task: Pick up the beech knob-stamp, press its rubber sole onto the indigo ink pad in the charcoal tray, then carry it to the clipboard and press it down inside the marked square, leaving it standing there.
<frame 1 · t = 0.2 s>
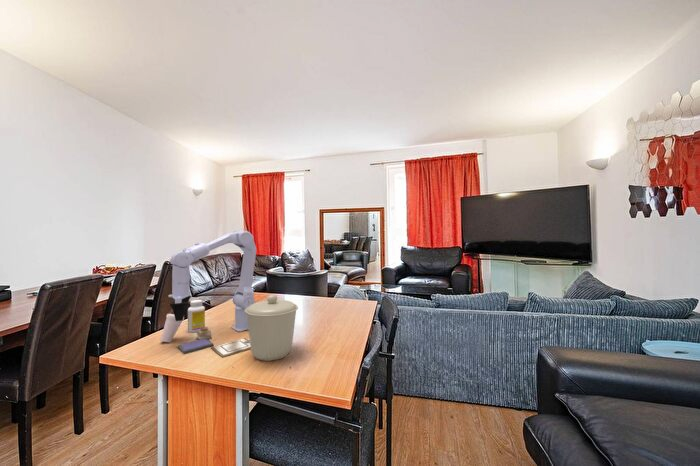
hand: (180, 317, 106), 10 cm above the table, tool pointing down, fingers open, 7 cm apart
stamp: (204, 339, 111), on the table
clipboard: (234, 347, 102), on the table
ink tray: (195, 346, 103), on the table
canister: (271, 354, 97), on the table
supplement bottle: (196, 330, 121), on the table
smoothie: (165, 341, 107), on the table, touching gripper
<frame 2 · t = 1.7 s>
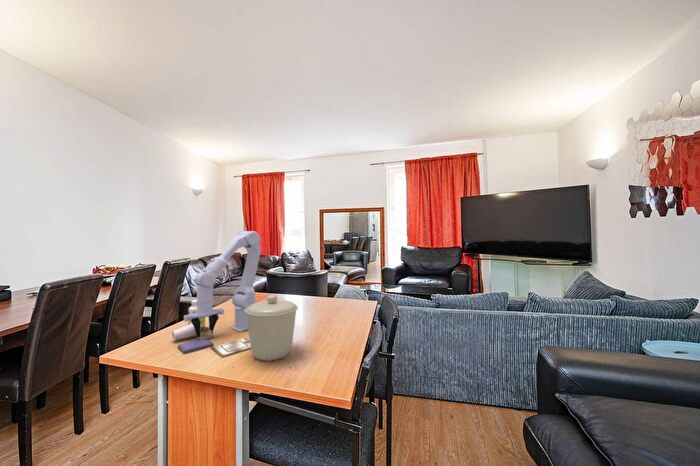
hand: (204, 335, 111), 2 cm above the table, tool pointing down, fingers closed on stamp, 4 cm apart
stamp: (204, 339, 111), on the table, touching gripper
smoothie: (172, 335, 107), point 3 cm above the table
everything else where it was.
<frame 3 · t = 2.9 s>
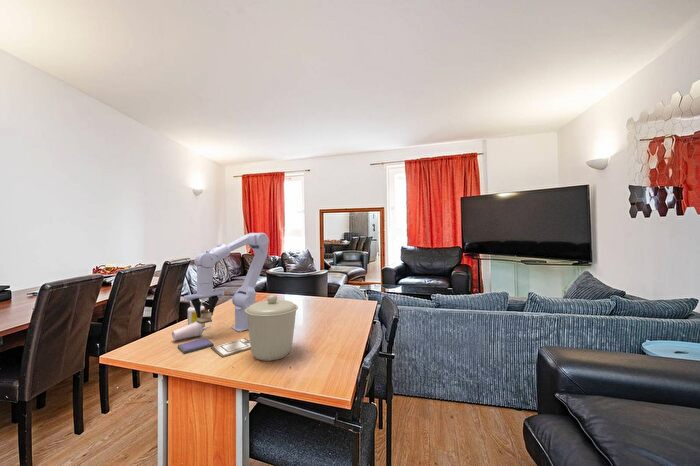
hand: (204, 316, 111), 9 cm above the table, tool pointing down, fingers closed on stamp, 4 cm apart
stamp: (204, 321, 111), point 7 cm above the table, touching gripper
everything else where it was.
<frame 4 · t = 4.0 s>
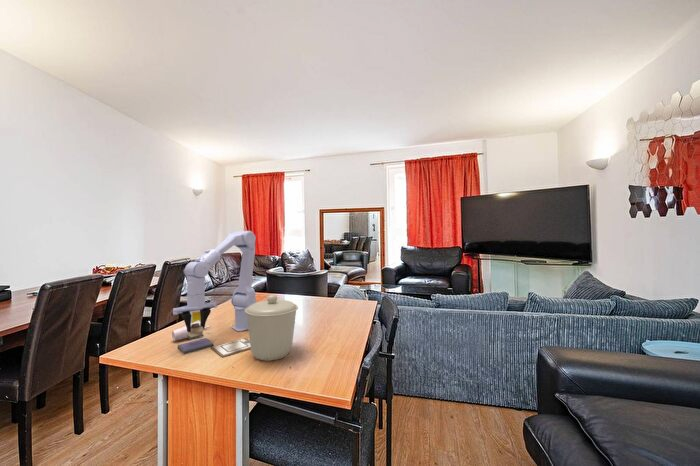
hand: (195, 329, 103), 6 cm above the table, tool pointing down, fingers closed on stamp, 4 cm apart
stamp: (195, 336, 103), point 4 cm above the table, touching gripper
everything else where it was.
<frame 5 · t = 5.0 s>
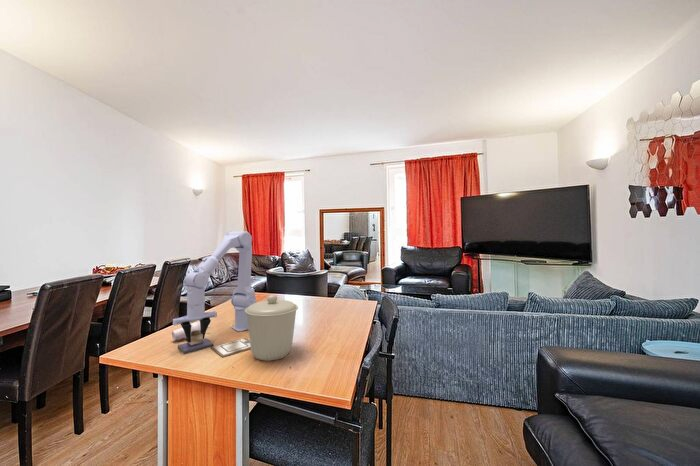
hand: (195, 339, 103), 3 cm above the table, tool pointing down, fingers closed on stamp, 4 cm apart
stamp: (195, 343, 103), point 1 cm above the table, touching gripper, ink tray
everything else where it was.
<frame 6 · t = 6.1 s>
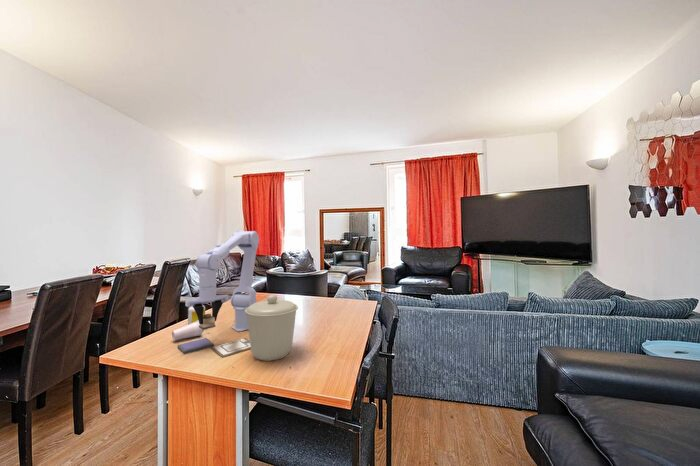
hand: (207, 322, 103), 9 cm above the table, tool pointing down, fingers closed on stamp, 4 cm apart
stamp: (207, 327, 103), point 7 cm above the table, touching gripper
everything else where it was.
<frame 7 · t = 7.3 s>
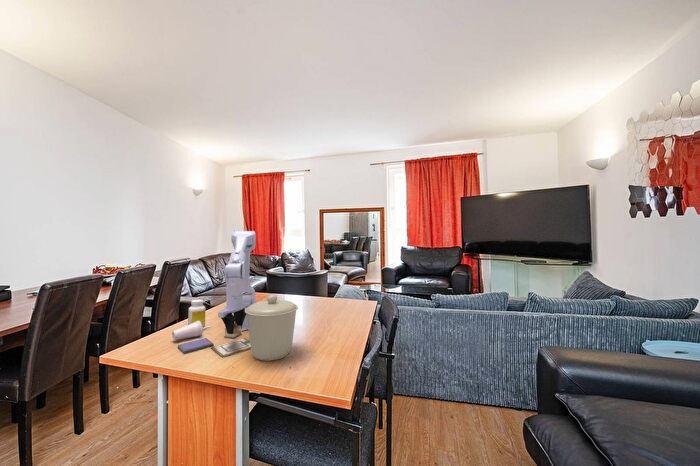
hand: (234, 331, 102), 6 cm above the table, tool pointing down, fingers closed on stamp, 4 cm apart
stamp: (233, 336, 103), point 4 cm above the table, touching gripper
everything else where it was.
when the fingers open (2 cm above the table, at t = 8.4 s): stamp stays where it is, resting on clipboard.
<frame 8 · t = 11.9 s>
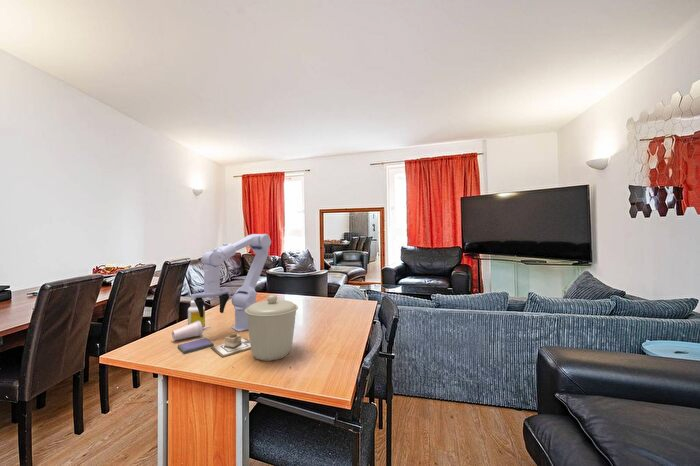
hand: (211, 314, 111), 10 cm above the table, tool pointing down, fingers open, 7 cm apart
stamp: (233, 345, 102), point 1 cm above the table, touching clipboard
everything else where it was.
at the end: stamp inside the target area on the clipboard (0.6 cm from its centre), point 0.6 cm above the clipboard's base; stamp tilted 0°; the gripper is holding nothing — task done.
